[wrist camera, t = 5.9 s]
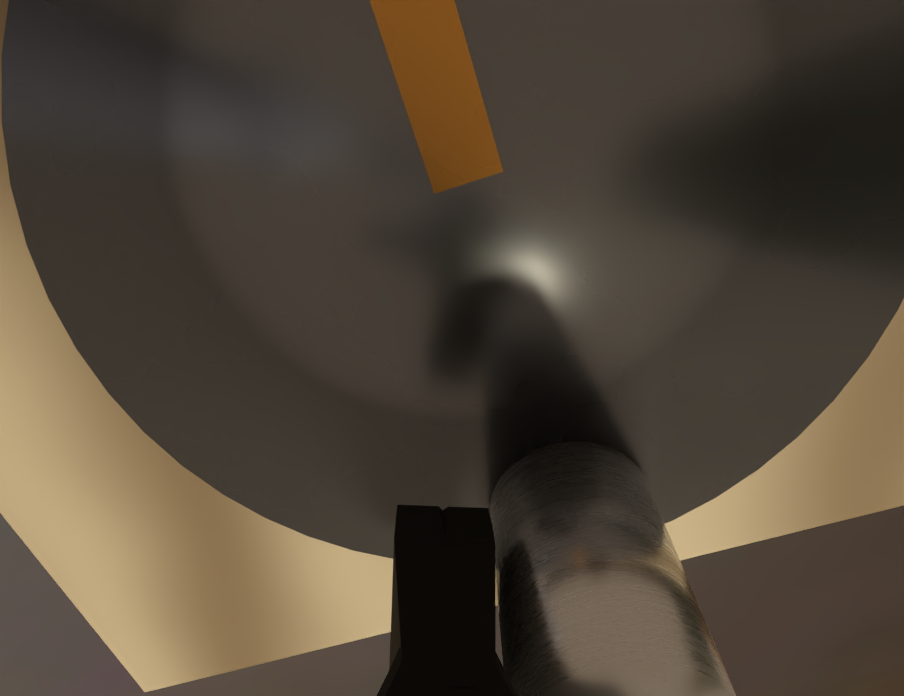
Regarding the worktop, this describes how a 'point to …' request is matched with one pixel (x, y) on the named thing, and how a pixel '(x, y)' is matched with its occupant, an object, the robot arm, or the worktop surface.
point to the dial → (474, 268)
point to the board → (282, 549)
